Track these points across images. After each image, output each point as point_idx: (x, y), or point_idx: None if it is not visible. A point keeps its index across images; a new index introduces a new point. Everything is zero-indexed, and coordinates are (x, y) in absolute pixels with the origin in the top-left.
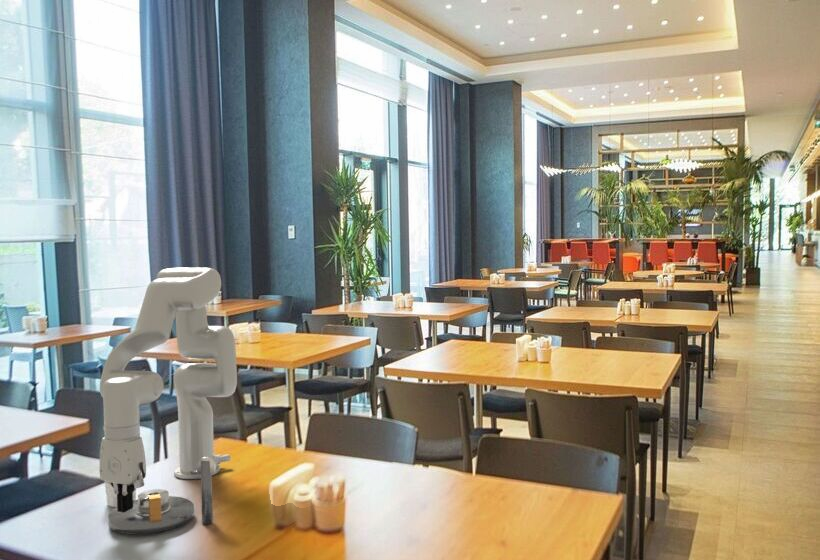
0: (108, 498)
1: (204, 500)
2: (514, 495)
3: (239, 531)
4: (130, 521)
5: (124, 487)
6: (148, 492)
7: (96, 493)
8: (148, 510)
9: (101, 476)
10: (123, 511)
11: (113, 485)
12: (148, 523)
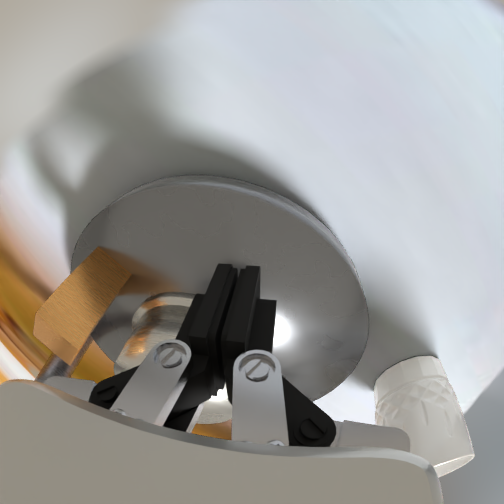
0: (438, 373)
1: (48, 362)
2: (2, 382)
3: (22, 298)
4: (180, 236)
5: (147, 393)
6: (211, 406)
7: (478, 380)
8: (152, 316)
9: (408, 491)
10: (219, 268)
11: (281, 416)
12: (101, 242)
